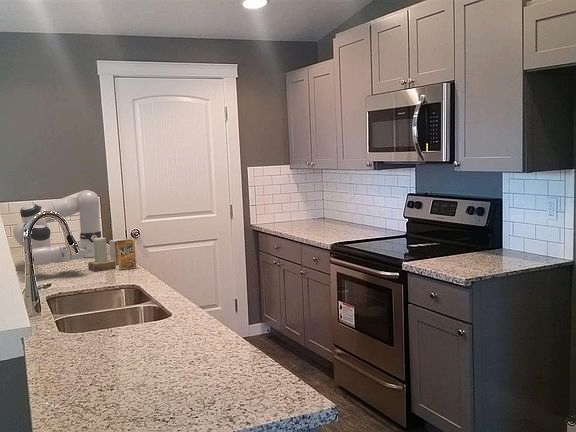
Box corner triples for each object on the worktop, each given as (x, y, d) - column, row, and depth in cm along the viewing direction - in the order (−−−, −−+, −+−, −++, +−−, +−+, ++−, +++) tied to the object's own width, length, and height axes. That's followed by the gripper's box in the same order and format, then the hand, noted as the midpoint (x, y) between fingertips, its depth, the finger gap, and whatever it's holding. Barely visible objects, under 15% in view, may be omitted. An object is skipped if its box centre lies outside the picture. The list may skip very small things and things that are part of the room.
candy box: (119, 270, 304) (116, 240, 302) (118, 268, 308) (116, 239, 306) (136, 268, 307) (134, 239, 305) (136, 266, 311) (134, 238, 309)
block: (95, 261, 309) (93, 238, 308) (104, 260, 312) (102, 237, 311) (98, 262, 305) (96, 239, 304) (107, 261, 308) (105, 238, 307)
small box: (116, 265, 318) (114, 241, 317) (110, 263, 323) (108, 240, 321) (129, 262, 324) (128, 239, 322) (124, 261, 328) (122, 238, 327)
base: (88, 269, 310) (87, 261, 309) (108, 266, 316) (108, 258, 316) (95, 271, 302) (94, 264, 302) (115, 268, 309) (115, 260, 308)
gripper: (56, 256, 305) (83, 253, 313) (68, 262, 288) (96, 258, 297) (55, 244, 304) (82, 241, 312) (67, 249, 288) (95, 245, 296)
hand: (89, 249), depth 304 cm, fingers open, 8 cm apart
